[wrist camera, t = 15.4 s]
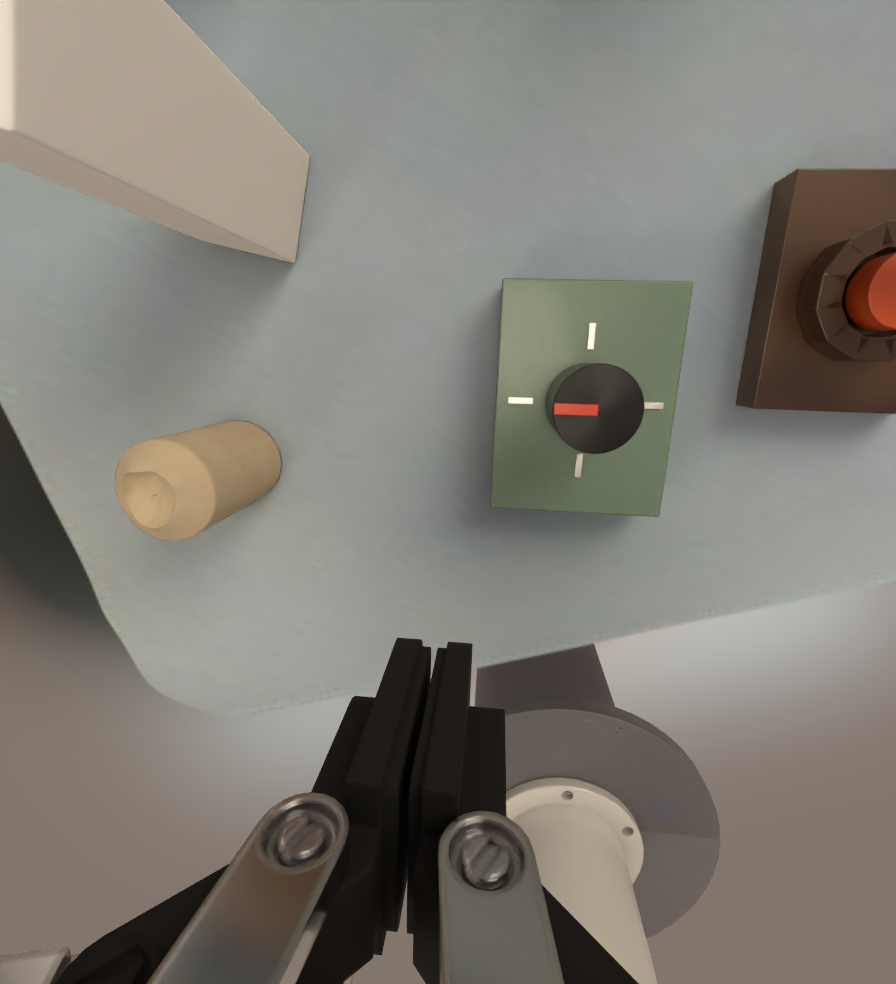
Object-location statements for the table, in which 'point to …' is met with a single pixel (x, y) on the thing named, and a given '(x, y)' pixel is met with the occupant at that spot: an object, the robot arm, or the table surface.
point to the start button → (874, 295)
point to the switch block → (821, 296)
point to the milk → (146, 122)
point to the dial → (595, 407)
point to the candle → (195, 478)
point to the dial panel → (574, 340)
